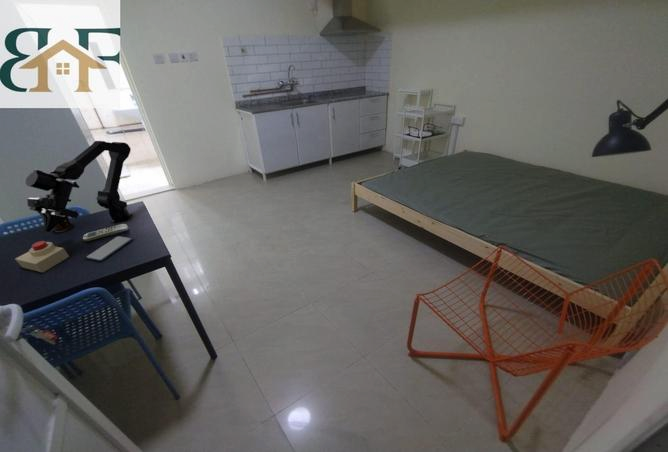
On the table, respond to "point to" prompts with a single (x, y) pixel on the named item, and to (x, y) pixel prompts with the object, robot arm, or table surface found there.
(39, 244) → the power button
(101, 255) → the smartphone
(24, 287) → the table surface
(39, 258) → the power button base
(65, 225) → the coffee cup
